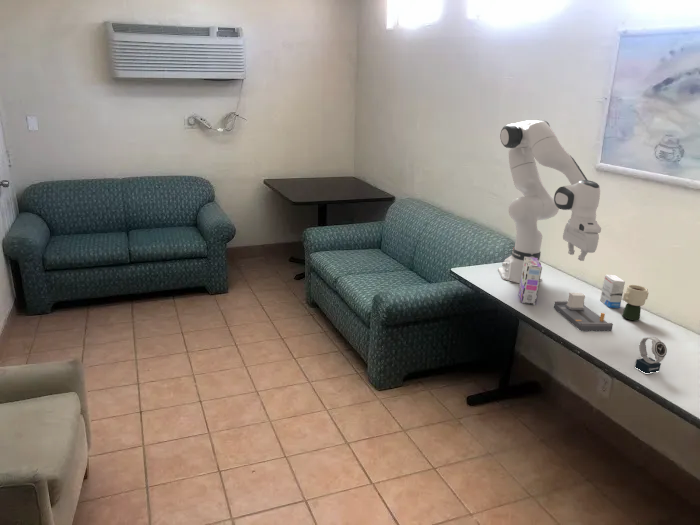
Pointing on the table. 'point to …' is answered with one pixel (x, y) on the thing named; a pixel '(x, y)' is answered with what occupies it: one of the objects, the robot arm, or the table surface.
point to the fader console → (583, 318)
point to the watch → (646, 362)
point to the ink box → (612, 291)
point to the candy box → (530, 280)
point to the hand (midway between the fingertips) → (575, 257)
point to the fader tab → (575, 301)
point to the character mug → (634, 301)
